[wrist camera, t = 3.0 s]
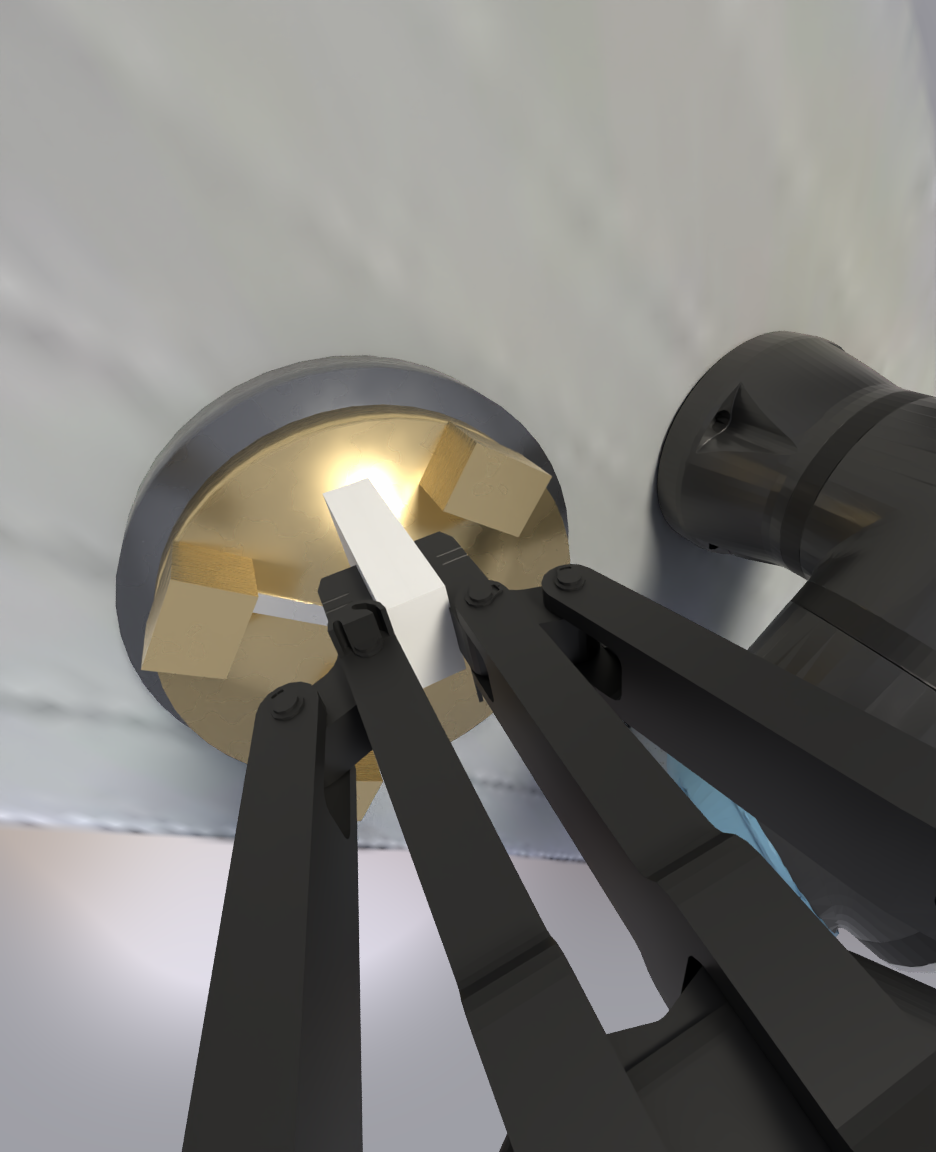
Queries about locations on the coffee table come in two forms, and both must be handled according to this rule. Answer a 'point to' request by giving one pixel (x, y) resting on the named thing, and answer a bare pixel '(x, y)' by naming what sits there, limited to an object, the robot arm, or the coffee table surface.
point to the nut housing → (260, 413)
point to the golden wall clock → (329, 559)
